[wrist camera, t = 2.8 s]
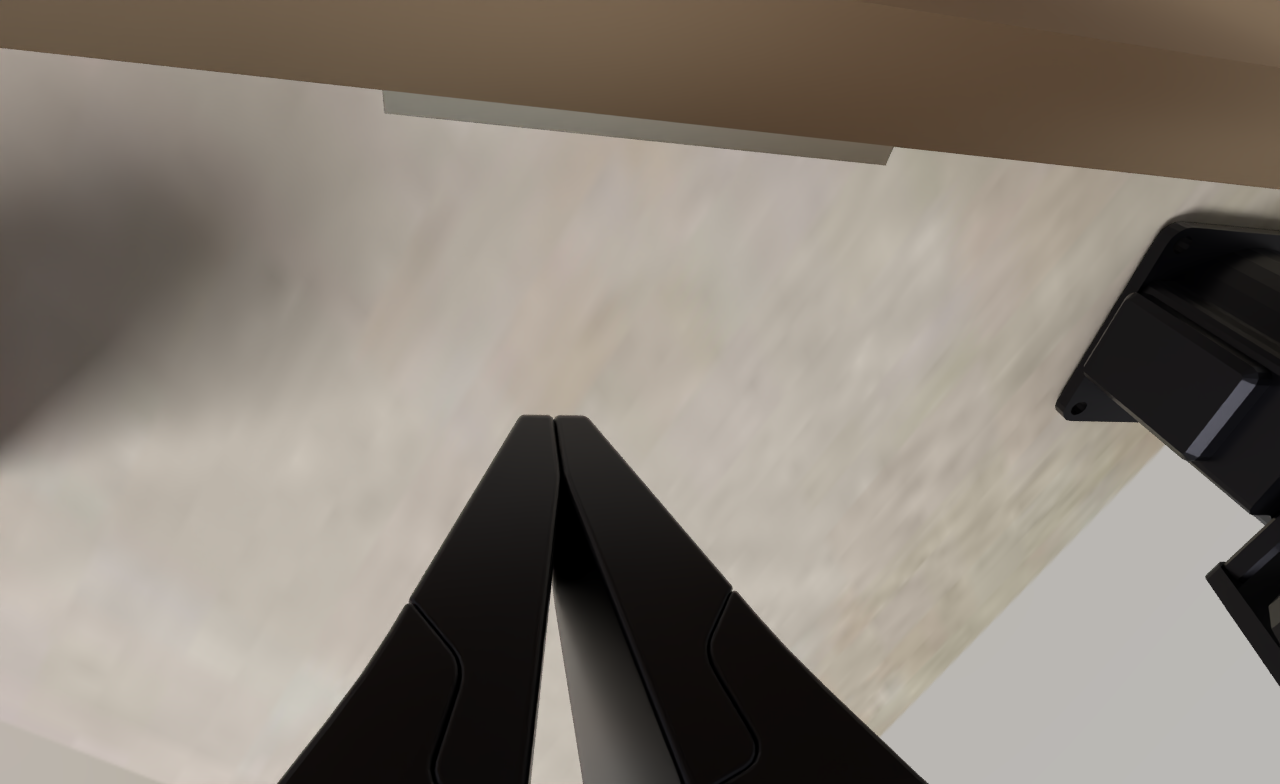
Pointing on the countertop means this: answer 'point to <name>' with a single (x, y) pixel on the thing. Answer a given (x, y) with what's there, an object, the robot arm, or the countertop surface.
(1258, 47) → the lid
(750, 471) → the countertop surface
